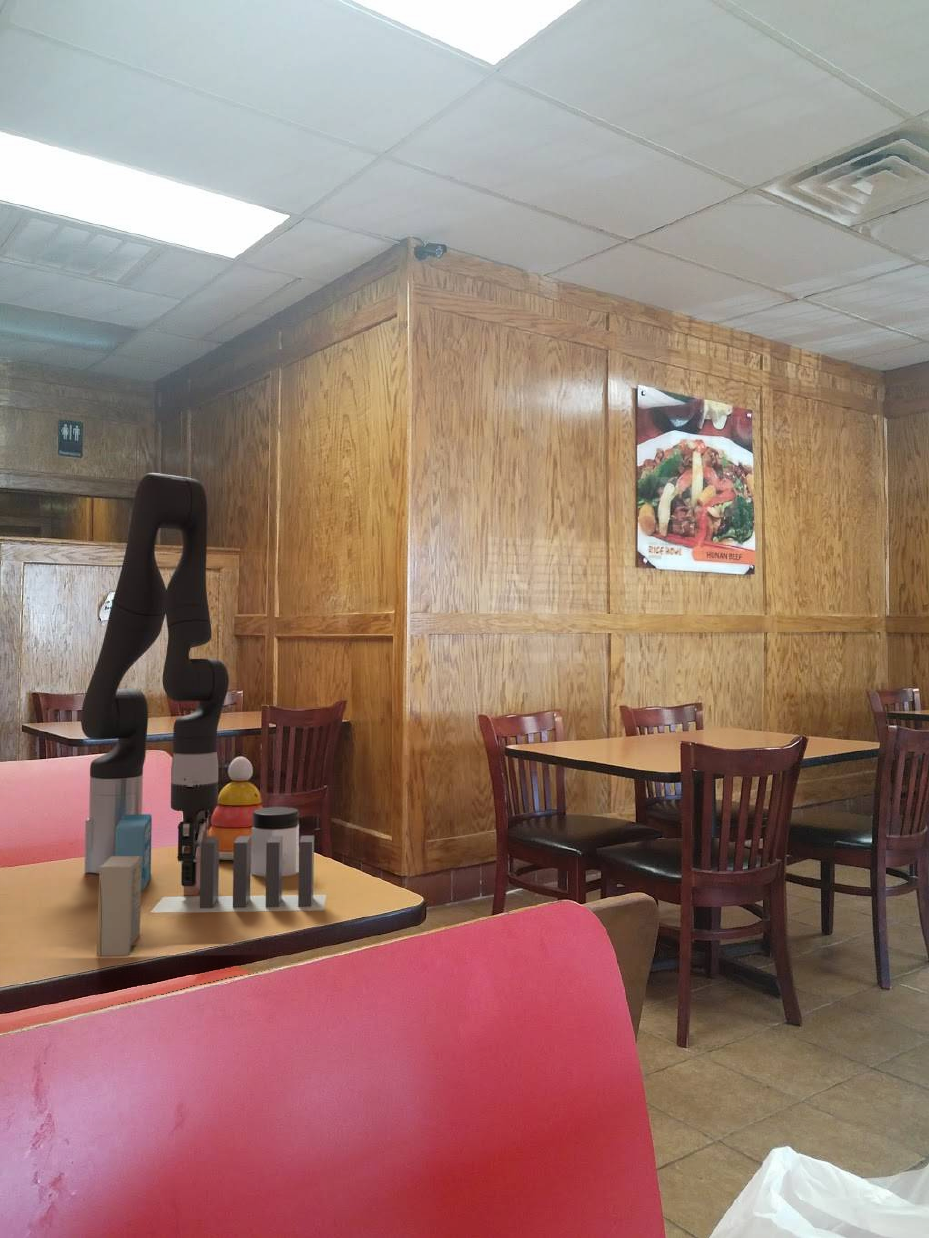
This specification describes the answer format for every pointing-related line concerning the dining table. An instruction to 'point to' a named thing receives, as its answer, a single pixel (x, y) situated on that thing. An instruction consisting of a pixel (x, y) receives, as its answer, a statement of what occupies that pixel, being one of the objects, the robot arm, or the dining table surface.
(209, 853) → the tile
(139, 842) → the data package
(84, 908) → the dining table surface
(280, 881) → the tile
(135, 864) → the skincare box
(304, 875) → the tile
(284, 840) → the jar
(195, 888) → the brick tile
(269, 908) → the white flat strip
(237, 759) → the stacking toy
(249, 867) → the tile
